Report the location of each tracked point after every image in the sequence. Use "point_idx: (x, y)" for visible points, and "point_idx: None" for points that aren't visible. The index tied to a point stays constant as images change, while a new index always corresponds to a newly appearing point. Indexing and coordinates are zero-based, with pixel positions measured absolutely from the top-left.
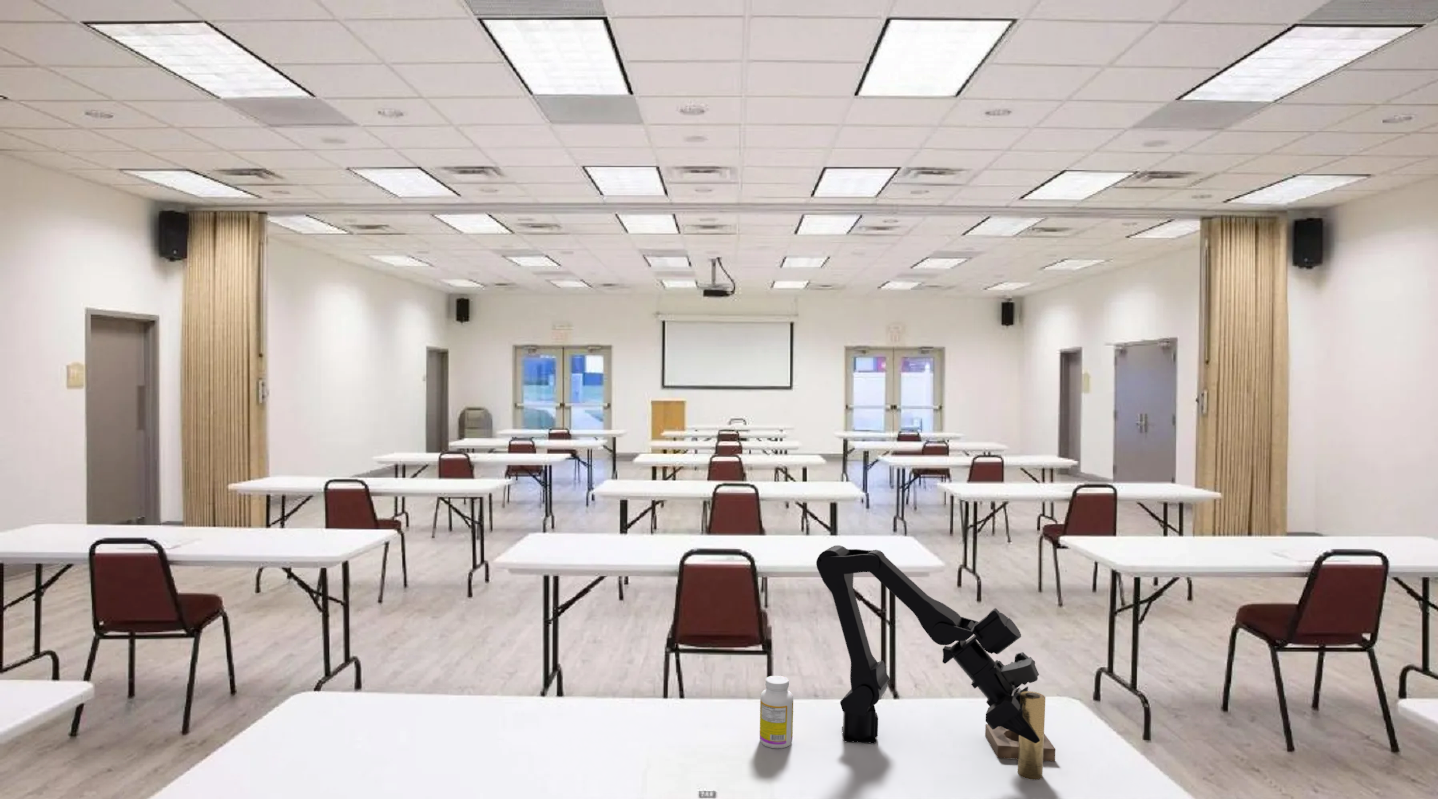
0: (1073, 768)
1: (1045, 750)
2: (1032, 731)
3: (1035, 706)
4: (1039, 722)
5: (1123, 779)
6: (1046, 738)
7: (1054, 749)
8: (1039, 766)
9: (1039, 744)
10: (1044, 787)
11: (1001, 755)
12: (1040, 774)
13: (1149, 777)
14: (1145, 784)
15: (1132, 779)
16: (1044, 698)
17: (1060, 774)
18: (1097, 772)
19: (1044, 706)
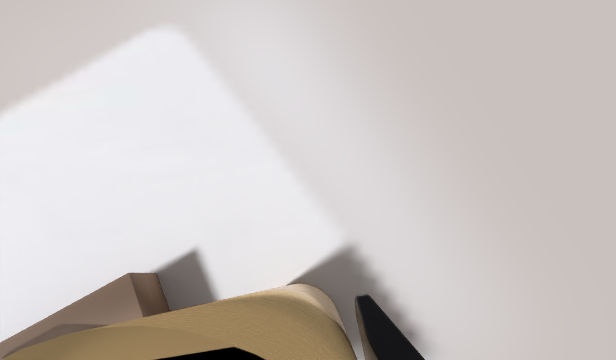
0: (178, 213)
1: (146, 307)
2: (416, 352)
3: None
4: (329, 323)
5: (181, 96)
6: (39, 327)
7: (131, 276)
8: (319, 291)
9: (322, 300)
10: (363, 260)
11: None
12: (312, 286)
13: (138, 53)
14: (183, 55)
15: (170, 80)
16: (135, 344)
17: (241, 238)
18: (171, 153)
19: (230, 308)
